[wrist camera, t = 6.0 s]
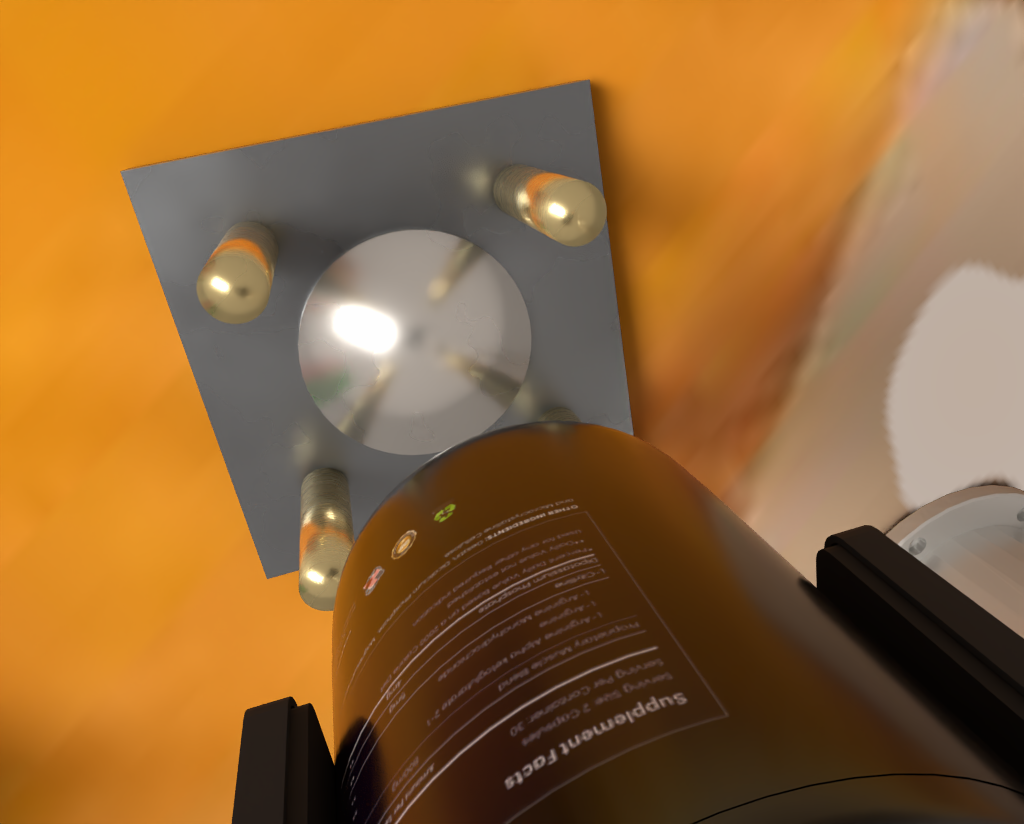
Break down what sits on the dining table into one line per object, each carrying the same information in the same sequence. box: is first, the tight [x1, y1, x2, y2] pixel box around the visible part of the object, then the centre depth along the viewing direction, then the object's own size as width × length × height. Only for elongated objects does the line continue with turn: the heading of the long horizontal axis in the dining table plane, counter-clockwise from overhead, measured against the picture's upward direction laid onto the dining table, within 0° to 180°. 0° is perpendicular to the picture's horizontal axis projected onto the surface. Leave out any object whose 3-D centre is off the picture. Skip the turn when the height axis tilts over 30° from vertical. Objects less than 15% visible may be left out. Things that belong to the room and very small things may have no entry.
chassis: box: [120, 80, 634, 611], centre depth 24 cm, size 14×14×7 cm
